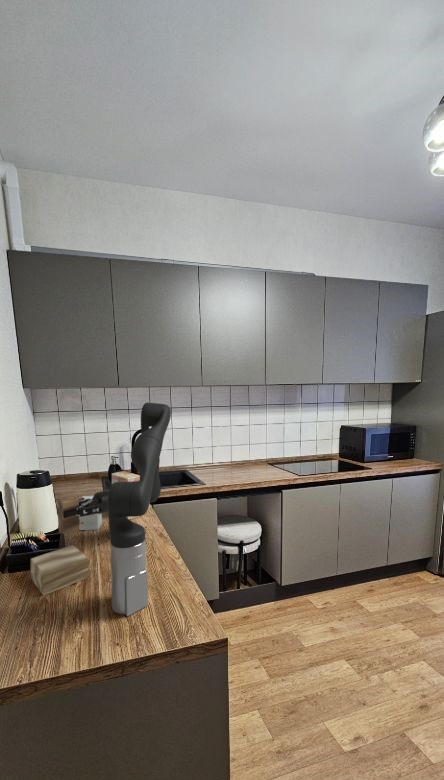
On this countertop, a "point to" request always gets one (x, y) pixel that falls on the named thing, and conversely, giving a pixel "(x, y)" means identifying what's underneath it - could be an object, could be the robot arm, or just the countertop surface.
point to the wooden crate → (59, 569)
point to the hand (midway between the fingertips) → (60, 512)
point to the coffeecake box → (125, 479)
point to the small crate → (70, 522)
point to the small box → (90, 520)
